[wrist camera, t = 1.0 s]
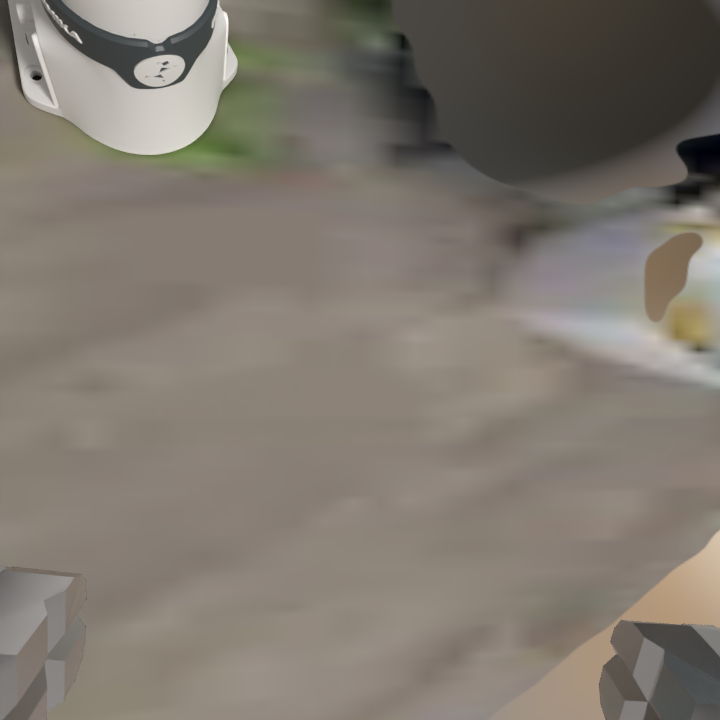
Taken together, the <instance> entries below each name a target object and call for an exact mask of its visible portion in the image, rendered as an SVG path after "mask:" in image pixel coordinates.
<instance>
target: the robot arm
mask: <svg viewBox="0 0 720 720" xmlns="http://www.w3.org/2000/svg"><path fill="white" fill-rule="evenodd" d="M8 5H9V11H10V17H11V23H12V29H13V35H14V41H15V48H16V54H17V60H18V66H19V72H20V78H21V84H22V89H23V93H24V96H25V98H26V100H27V101H28V102H29V103H30V104H31V105H33V106H35V107H37V108H39V109H41V110H44V111H46V112H49V113H52V114H55V115H58V116H61V117H64V118H65V119H67V120H69V121H70V122H72V123H73V124H74V125H76V126H77V127H78V128H79V129H81V130H82V131H83V132H85V133H86V134H87V135H89V136H90V137H92V138H93V139H95V140H97V141H99V142H101V143H102V144H105V145H107V146H109V147H111V148H114V149H117V150H120V151H124V152H128V153H133V154H142V155H155V154H163V153H168V152H172V151H175V150H178V149H181V148H183V147H185V146H187V145H189V144H190V143H192V142H193V141H195V140H196V139H197V138H198V137H200V136H201V135H202V134H203V133H204V131H205V130H206V129H207V128H208V126H209V125H210V123H211V121H212V119H213V117H214V115H215V112H216V109H217V105H218V101H219V98H220V95H221V92H222V90H223V89H224V88H225V87H226V86H227V85H228V84H229V83H230V82H231V80H232V79H233V78H234V76H235V75H236V73H237V58H236V56H235V54H234V52H233V51H232V49H231V47H230V45H229V44H228V42H227V41H228V16H227V13H226V12H224V11H222V9H221V7H220V5H219V0H8ZM34 76H40V77H42V78H41V80H39V81H35V80H33V79H32V78H33V77H34ZM86 600H87V587H86V579H85V577H84V576H83V575H82V574H76V573H67V572H57V571H48V570H39V569H29V568H20V567H7V566H0V720H47V712H48V711H49V710H51V709H52V708H53V707H55V706H56V705H58V704H59V703H61V702H62V701H64V699H65V698H66V696H67V694H68V692H69V690H70V688H71V687H72V685H73V683H74V681H75V678H76V675H77V672H78V669H79V667H80V664H81V661H82V657H83V652H84V646H85V639H86V626H85V624H84V623H83V622H82V620H81V619H80V618H79V616H78V615H77V614H78V612H79V611H80V609H81V608H82V606H83V605H84V603H85V602H86ZM610 642H611V645H612V647H613V649H614V651H615V653H616V655H615V656H614V657H613V658H611V660H609V661H608V662H607V663H606V664H605V665H604V666H603V669H602V674H601V678H600V682H599V691H600V702H601V707H602V710H603V713H604V716H605V719H606V720H720V629H719V628H717V627H715V626H713V625H696V624H681V625H677V624H665V623H652V622H640V621H627V620H621V621H620V622H619V623H618V624H617V626H616V627H615V628H614V631H613V634H612V637H611V641H610Z"/></svg>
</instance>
